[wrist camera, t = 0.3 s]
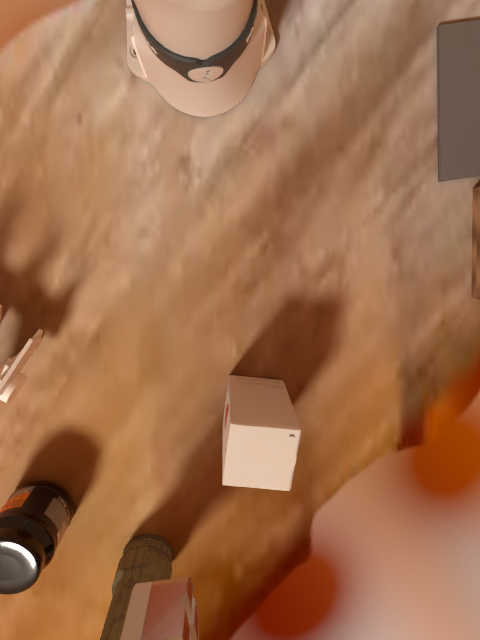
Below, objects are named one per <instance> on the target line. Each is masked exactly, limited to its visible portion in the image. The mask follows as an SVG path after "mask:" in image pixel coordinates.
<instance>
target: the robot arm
mask: <svg viewBox="0 0 480 640" xmlns="http://www.w3.org/2000/svg"><path fill="white" fill-rule="evenodd" d="M126 18H127V62H128V66H129V69H130V71H131V72H132V73H133V74H134V75H136V76H137V77H139V78H141V79H143V80H144V81H146V82H148V83H150V84H151V85H152V86H153V87H154V88H155V89H156V90H157V91H158V93H159V94H160V95H161V96H162V97H163V98H164V99H165V100H166V101H167V102H168V103H169V104H170V105H172V106H173V107H174V108H176V109H178V110H179V111H182V112H184V113H186V114H189V115H193V116H201V117H207V116H214V115H218V114H221V113H224V112H226V111H228V110H230V109H231V108H233V107H234V106H235V105H237V104H238V103H239V102H240V101H241V100H242V99H243V98H244V96H245V95H246V94H247V92H248V91H249V89H250V87H251V85H252V83H253V81H254V79H255V76H256V74H257V72H258V70H259V69H260V67H261V66H262V65H264V64H265V63H266V62H267V61H268V60H269V59H270V57H271V56H272V55H273V53H274V51H275V47H276V41H275V37H274V33H273V30H272V26H271V22H270V19H269V15H268V12H267V8H266V5H265V1H264V0H126ZM135 52H136V55H135V54H134V53H135ZM192 594H193V585H192V581H191V577H184V578H176V579H167V580H159V581H153V582H145V583H137V584H135V586H134V588H133V590H132V594H131V598H130V602H129V606H128V610H127V614H126V618H125V622H124V626H123V630H122V634H121V638H120V640H198V633H199V626H198V610H197V604H196V600H195V599H194V598H193V597H192Z"/></svg>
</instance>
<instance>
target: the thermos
mask: <svg viewBox="0 0 480 640" xmlns="http://www.w3.org/2000/svg"><path fill="white" fill-rule="evenodd" d="M172 559H173V552H172V549H171V547H170V545H169V543H167V542H166V541H165V540H164V539H162V538H160V537H158V536H155V535H141V536H138V537H135V538H133V539H132V540H131V541H129V542H128V544H127V545H126V547H125V549H124V552H123V557H122V558H121V559H120V562H119V565H118V568H117V572H116V575H115V579H114V582H113V586H112V595H113V597H112V601H111V604H110V607H109V611H108V614H107V618H106V621H105V624H104V628H103V631H102V635H101V638H100V640H120V638H121V634H122V630H123V626H124V622H125V618H126V614H127V610H128V606H129V602H130V598H131V594H132V590H133V588H134V586H135V584H137V583H145V582H153V581H159V580H167V579H171V572H172V565H171V563H172Z"/></svg>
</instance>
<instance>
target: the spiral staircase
mask: <svg viewBox="0 0 480 640" xmlns="http://www.w3.org/2000/svg"><path fill="white" fill-rule="evenodd" d="M1 316H2V305H0V321H1ZM42 333H43V330H41V329H39V330H38V331H37V332H36V333H35V335H34V336H33V337H32V338H30V339H29V340H28V342H27V343H26V345H25V346H24V348H23V349H22V350H21V351H20V352H19V353H18V354H17V355H16V356H14V357H11V358H8V360H7V361H6V362H5V363H4V364H2V363H0V400H2V401H4V402H6V403H8V402H9V401H10V400H11V399H12V398H13V397H14V396H15V395H16V393H17V392H18V391H19V389H20V388H21V386H22V385H23V383H24V381H25V379H26V377H27V376H26V375H24V374H22V373H20V371H21V369H22V368H23V366H24V365H25V363H26V362H27V360H28V359H29V358H30V357H31V356H32V354H33V352H34V350H35V349H36V347H37V346H38V345H39V344H40V342H41V339H42Z"/></svg>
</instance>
